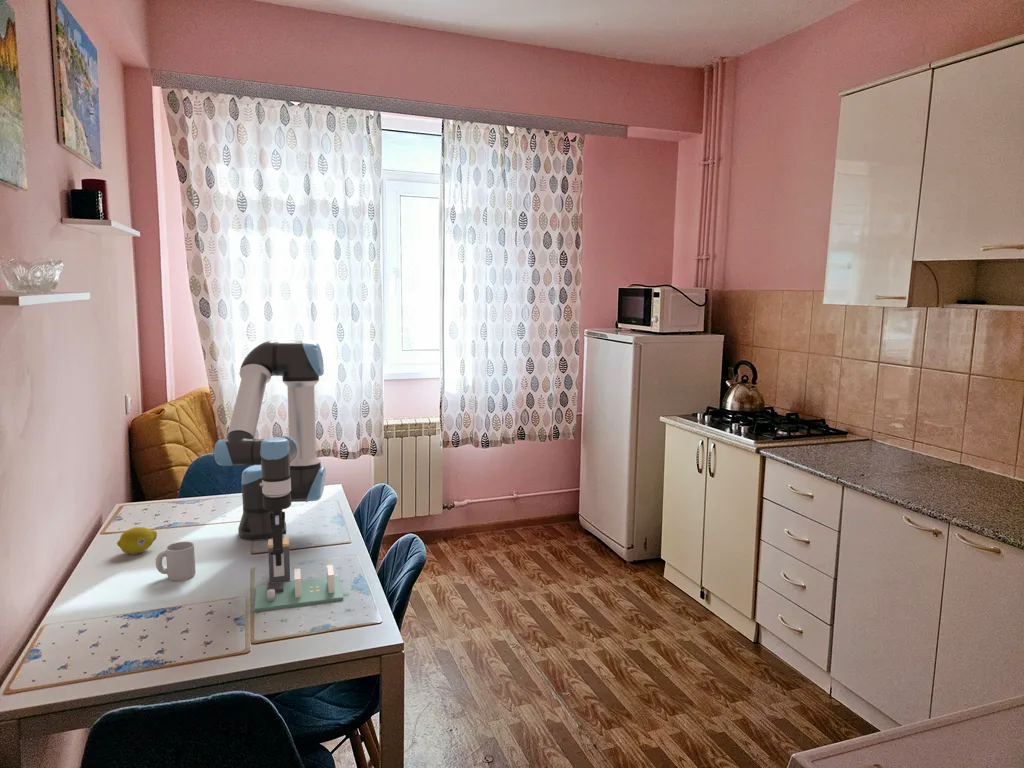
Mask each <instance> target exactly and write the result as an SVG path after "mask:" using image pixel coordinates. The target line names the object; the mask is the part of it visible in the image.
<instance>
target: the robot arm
mask: <svg viewBox="0 0 1024 768" xmlns="http://www.w3.org/2000/svg"><path fill="white" fill-rule="evenodd" d="M324 367H325V366H324V358H323V353H322V349H321V347H320V344H319V343H318V342H317V341H314V340H304V339H303V340H267V341H264V342H262V343H260V344H258V345H257V346H256V347H254V348H253V349H252V350H251V351H250V352H249V353H248V354H247V355H246V357H244V360H243V361H242V363H241V366H240V369H239V374H238V375H239V377H240V381H239V382H240V383H239V387H238V392H237V395H236V400H235V403H234V407H233V411H232V413H231V414H232V415H231V419H230V422H229V428H228V431H227V435H226V439H225V438H223V439H218V440H216V443H215V444H214V448H213V449H214V450H213V455H214V456H213V457H214V460H215V462H216V464H217V465H219V466H231V467H233V466H248V467H246V468H245V469H244V470H243V471H242V472H241V483H240V484H241V497H242V515H241V518H240V521H239V525H238V528H237V531H238V537H239V538H240V539H242V540H247V541H263V540H268V539H273V552H270V554H271V555H273V567H274V577H278V576H284V552H283V538H285V535H287V523H286V511H283V510H286V509H288V508H290V507H291V506H292V503H303V502H305V503H308V502H316V501H319V500H320V499H322V496H323V493H324V488H325V484H326V476H327V475H326V474H327V473H326V470H327V469H326V467H325V466H323V465H321V463H322V462H321V460H320V458H318V456H317V452H316V451H317V447H316V442H317V441H316V404H315V403H316V402H315V401H316V400H315V399H316V398H315V397H316V396H315V385H316V384H318V383H319V382H320V377H321V376H323V375H324V372H325V370H324V369H325V368H324ZM274 376H275V377H277V376H278V377H279V376H280V377H282V383H283V384H284V385H286V387H287V417H288V419H287V421H288V422H287V423H288V424H287V425H288V435H282V436H276V437H275V436H274V437H268V438H255V437H256V432H257V427H258V422H259V419H260V413H261V409H262V404H263V400H264V395H265V391H266V387H267V384H268V383H269V382H271V379H272V377H274ZM275 549H279V550H275Z"/></svg>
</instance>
